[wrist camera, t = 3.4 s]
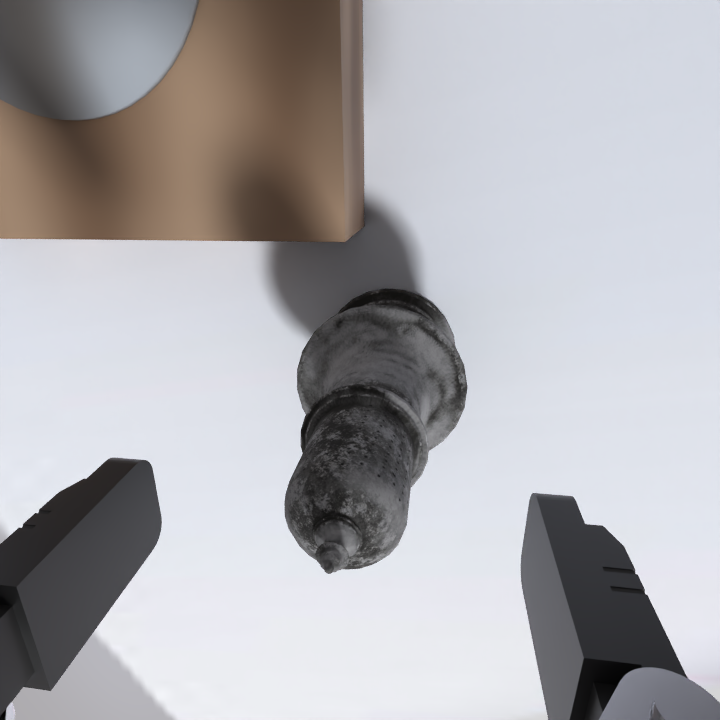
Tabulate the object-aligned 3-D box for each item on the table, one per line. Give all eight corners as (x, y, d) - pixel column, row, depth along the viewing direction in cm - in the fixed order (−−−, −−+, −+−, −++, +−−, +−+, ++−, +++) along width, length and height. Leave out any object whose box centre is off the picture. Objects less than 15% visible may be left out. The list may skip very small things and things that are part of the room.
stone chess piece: (462, 277, 19) (487, 435, 8) (464, 416, 21) (486, 694, 10) (311, 285, 20) (151, 435, 9) (327, 417, 22) (212, 669, 11)
